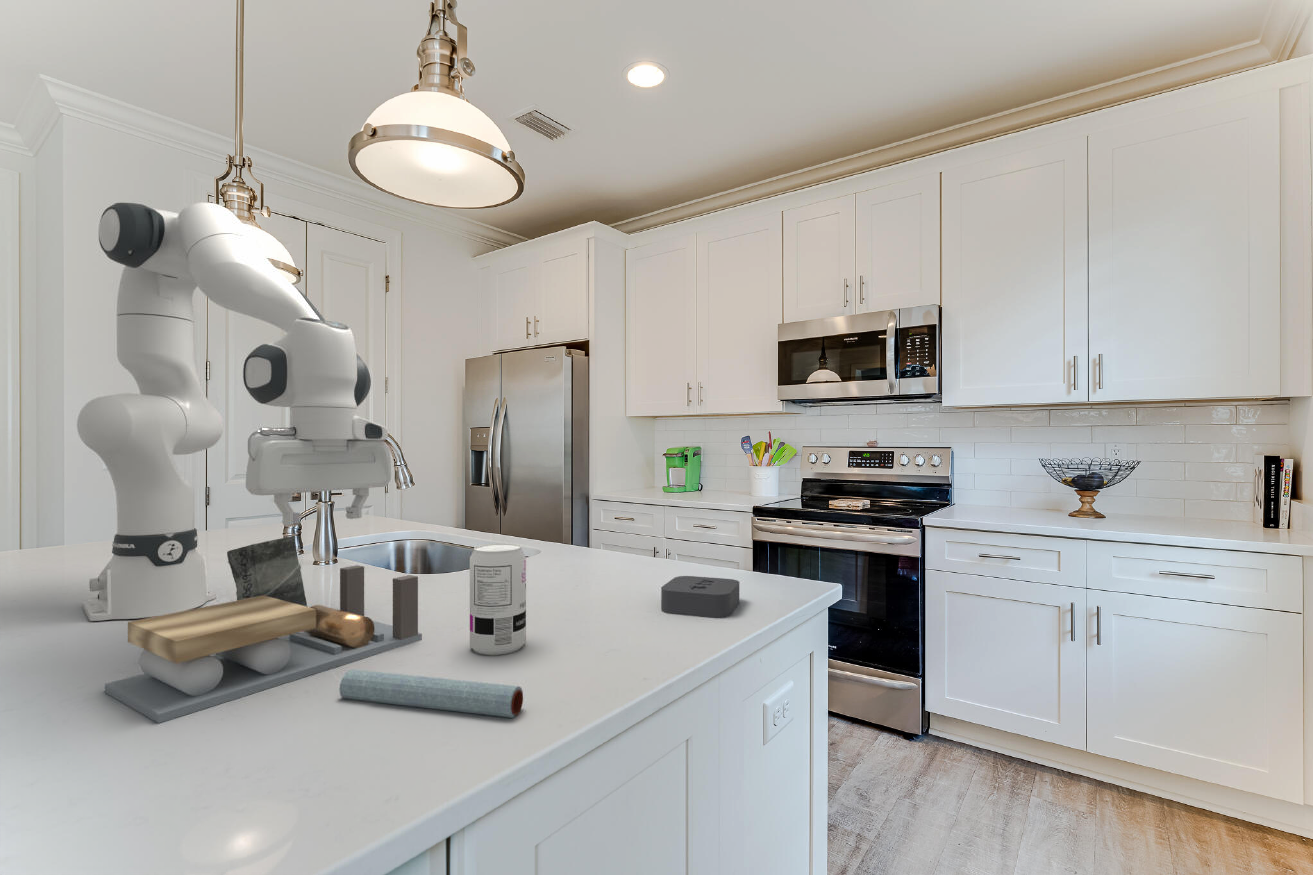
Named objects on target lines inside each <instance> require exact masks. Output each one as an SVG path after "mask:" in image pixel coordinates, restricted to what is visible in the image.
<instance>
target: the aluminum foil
mask: <svg viewBox="0 0 1313 875" xmlns="http://www.w3.org/2000/svg"><path fill="white" fill-rule="evenodd" d="M339 694H340V696H341V698H342V699H347V700H356V701H365V702H374V703H382V704H390V705H397V706H398V705H399V706H407V707H414V708H415V707H416V708H423V709H425V708H426V709H433V710H439V711H440V710H441V711H450V712H458V713H466V714H467V713H468V714H476V715H485V716H493V717H500V718H501V717H502V718H509V719H510V718H512V719H514V718H515V716H517V715H519V713H520V712H521V710H522V708H523V703H524V691H523V689H522V687H521V686H519V685H509V684H500V683H491V682H489V683H488V682H483V681H482V682H481V681H480V682H479V681H471V680H459V679H450V678H441V677H431V676H421V675H413V674H401V673H391V672H382V671H370V670H363V669H362V670H361V669H350V670H348V671H347V672H345V673H344V675H343V676H342V678H341V680H340V684H339Z"/></svg>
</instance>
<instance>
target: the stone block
mask: <svg viewBox="0 0 1313 875" xmlns="http://www.w3.org/2000/svg"><path fill="white" fill-rule="evenodd" d="M226 553H227V554H226V556H227V560H228V561H227V562H228V564H229V567H230V570H231V574H232V577H233V580H234V583H235V587H236V592H235V596H236V601H237V600H242V599H247V598H252V597H257V596H262V595H264V596H268V597H272V598H276V599H279V600H283V601H287V602H291V603H295V604H298V605H302V606H306V607H308V603H307V598H306V592H305V587H304V582H303V575H302V571H301V570H302V565H301V564H300V562H299V557H298V552H297V547H296V540H295V536H294V535H293V536H287V537H281V538H277V539H276V538H275V539H272V540H267V541H263V542H258V543H257V542H256V543H252V544H249V545H245V546H241V547H239V548H233V549H231V550H227V551H226Z"/></svg>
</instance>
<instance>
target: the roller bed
mask: <svg viewBox="0 0 1313 875" xmlns="http://www.w3.org/2000/svg"><path fill="white" fill-rule="evenodd" d="M339 610H341V611H345V612H349V613H353V614H357V615H361V616H365V566H363V565H358V564H357V565H353V566H352V565H351V566H345V567H341V568H339ZM372 621H373V623H374V634H373V637H372V638H371V640H370V641H369V642H368V643H367V644H366V645H365V646H363V647H360V648H354V647H350V646H347V645H344V644H341V643H337V642H334V641H331V640H327V639H324V638H321V637H317V636H314V635H311V634H307V633H305V632H304V631H303V632H297V633H293V634H289V635H287V636H285V637H282V638H281V637H278V638H274V639H270V640H266V641H262V642H258V643H254V644H250V645H246V646H242V647H238V648H235V649H231V650H227V651H223V652H219V653H215V654H214V655H207V656H203V657H199V658H195V659H191V660H187V661H184V662H180V663H174V662H172V661H170V660H167V659H165V658H163V657H161V656H158V655H156V654H154V653H152V652H149V651H147V650H145V649H142V652H141V653H140V656H139V657H138V658H139V659H138V666H139V668H140V671H141V672H143V673H142V674H137V675H134V676H130V677H127V678H122V679H118V680H114V681H110V682H107V683H104V692H105V693H106V695H107V694H108V695H109V696H111V697H113V698H114V699H116V700H118V701H120V702H121V703H123V704H124V705H126V706H128V707H130V708H132V709H133V710H135V711H136V712H138V713H140V714H142V715H143V716H146V717H147V718H149V719H151V720H152V721H154V722H156V723H158V724H160V723H164V722H167V721H170V720H174V719H178V718H179V717H183V716H186V715H189V714H192V713H195V712H199V711H202V710H205V709H209V708H212V707H215V706H216V705H221V704H224V703H227V702H231V701H234V700H237V699H240V698H243V697H246V696H249V695H252V694H255V693H258V692H259V693H260V692H262V691H265V690H269V689H272V688H275V687H278V686H281V685H284V684H287V683H290V682H294V681H297V680H300V679H302V678H306V677H309V676H313V675H316V674H319V673H322V672H325V671H329V670H331V669H335V668H337V667H340V666H344V665H347V664H350V663H351V664H352V663H353V662H357V661H360V660H363V659H366V658H369V657H373V656H375V655H378V654H382V653H384V652H385V653H386V652H388V651H389V652H390V651H392V650H393V649H398V648H400V647H403V646H406V645H410V644H412V643H416V642H419V641H422V639H423V634H422V633H421V632H419V577H418V576H417V575H411V574H408V575H407V574H406V575H404V576H398V577H394V578H392V625H391V624H386V623H383V622H378V621H376V620H375V621H374V620H372Z"/></svg>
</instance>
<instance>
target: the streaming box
mask: <svg viewBox="0 0 1313 875" xmlns="http://www.w3.org/2000/svg"><path fill="white" fill-rule="evenodd" d="M660 591H661V592H660V597H661V600H660V602H661V604H660V605H661V606H660V607H661V608H660V610H661V612H662V613H664V614H668V615H678V616H686V617H688V616H689V617H698V618H699V617H700V618H709V619H725V618H729V617H731V615H733V613H734V612H735V611H736V609H737V608H738V606H740V581H739V580H737V579H733V578H724V577H720V578H719V577H709V576H707V577H706V576H697V575H696V576H694V575H680V576H675V577H673V578H672V579H670V580H669V581H668V582H666V583H665V584H664V585H662V586H661V590H660Z"/></svg>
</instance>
